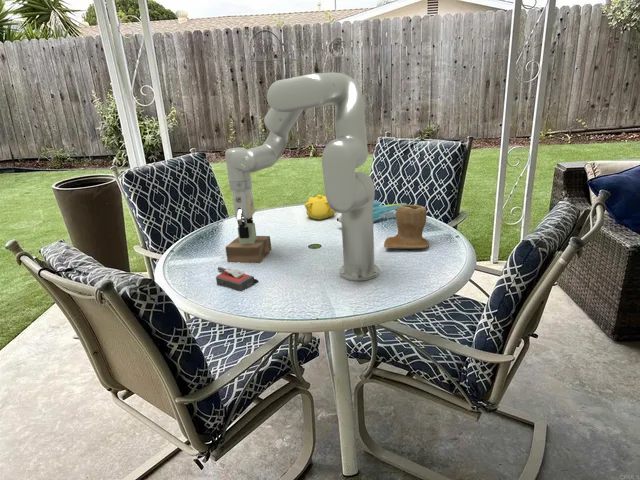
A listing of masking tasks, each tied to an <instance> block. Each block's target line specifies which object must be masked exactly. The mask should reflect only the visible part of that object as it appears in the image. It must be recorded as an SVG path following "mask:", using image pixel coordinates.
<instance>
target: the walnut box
mask: <svg viewBox="0 0 640 480" xmlns="http://www.w3.org/2000/svg"><path fill="white" fill-rule="evenodd" d="M256 237H257V239H256V241H255V243H254V244H240V242H239V235H238V236H237V237H236V238H235V239H233V240H232V241H231V242H229V244H227V245H226V246H225V253H226V254H225V255H226V259H227V263H238V262H240V263H244V264H260V263H262V262H263V261H264V259H265V258H267V256H268V255H269V254H271V252H272V251H271V250H272V244H271V242H272V241H271V236H270V235H256ZM270 251H271V252H270ZM240 263H239V264H240Z"/></svg>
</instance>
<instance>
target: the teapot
mask: <svg viewBox="0 0 640 480" xmlns="http://www.w3.org/2000/svg"><path fill="white" fill-rule="evenodd" d="M307 199H308V200H307V202H305V203H304V207H305V209H306V215H307V217H308V218H311V219H315V220H318V221H323V219H326V218H331V217H333V216H334V215H335V213H336V211H334V210H333V209H332V208H331V207H330V206H329V204H328V202H327V199H326V195H323V194H317V195H316V196H314V197H313V196H309V197H308V198H307Z"/></svg>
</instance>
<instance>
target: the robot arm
mask: <svg viewBox="0 0 640 480" xmlns="http://www.w3.org/2000/svg"><path fill="white" fill-rule="evenodd" d="M361 89H362V88H361V86H360V85H359V84H358V82H357V81H356V80H355V79H354V78H352V77H351V76H350V75H347V74H345V73H340V72H331V71H330V72H329V71H328V72H316V73H308V74H304V75H299V76H294V77H289V78H285V79H277V80H276V81H274V82H273V83H272V84H271V85H270V86H269V88H268V90H267V93H266V100H267V103H268V105H269V107H270V108H269V110H268V111H267V113H266V114H265V116H264V120H263V122H264V125H265V127H266V128H267V129H268V130H269V134H268V135H267V137H266V139H265V141H264V142H263V143H262V145H258V146H256V147H255V146H254V147H251V148H248V149H247V148H245V147H232V148H228V149H226V151H225V152H224V153H225V154H224V155H225V156H224V157H225V163H226V164H225V165H226V170H227V177H228V186H229V191H230V192H232V199H233V200H232V201H233V211H234V216H235V219H236V221H237V229H238V228H239V235H240V238H249V230H248V227H247V223H254V218H253V216H254V214H255V212H256V210H255V207H256V206H255V202H254V201H255V200H254V197H253V196H254V195H253V191H252V189H253V183H252V182H253V181H252V176H251V174H252V173H257V172H259V171H260V172H261V171H262V170H265V169H267V168H268V169H269V168H271V167H272V166H274V165H275V164H276V163H277V162H278V161H279V160H280V158H281V156H282V155H283V153H284V152H285V150H286V148H287V146H288V143H289V142H288V140H289V133H290V131H291V129H292V128H293V126H294V125H295V124H296V122H297V120H298V119H299V117H300V115H301V114H303V113H302V112H303V111H304V110H305V109H311V108H319V107H324V106H330V105H334V106H335V114H334V129H335V139H333V140H331V141H329V142H328V143H327V144H326V146H325V147H324V149H323V151H322V157H321V168H322V177H323V183H324V193H325V196H326V199H327V202H328V204H329V206H330V207H331V208H332V209H333V210H334V211H335V213H339V214H342V216H341V215H340V216H341V222H342V223H341V222H340V223H341V237H342V238H341V240H342V241H341V242H342V256H343V265H342V266H341V267H339V270H338V271H339V273H338V274H339V275H340V277H341V278H343V279H345V280H348V281H354V282H355V281H356V282H358V281H359V282H362V281H368V280H372V279H374V278H376V277H377V276H379V274H380V272H381V271H380V270H381V269H380V267H379V265H377V264H376V263H375V242H374V236H375V235H374V234H375V233H374V222H373V205H374V201H375V196H376V195H375V194H376V193H375V192H376V189H375V184H374V180H373V179H372V177H371V176H370V175H368V174H367V173H365V172H364V171H363V172H362V171H356V169H358V168H360V167H361V166H362V165H364V164H365V163H366V161H367V160H368V155H369V149H368V140H367V139H368V138H367V127H366V126H367V125H366V119H365V118H366V117H365V116H366V115H365V101H364V95H363V91H362V90H361ZM239 235H238V236H239Z"/></svg>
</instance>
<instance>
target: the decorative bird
mask: <svg viewBox="0 0 640 480" xmlns="http://www.w3.org/2000/svg"><path fill="white" fill-rule="evenodd" d="M381 204H382V202H381V201H378V200H377V201H376V200H374V205H373V223H375V222H376V221H379V220H381V219H383V217H384V216H381V215H382V214H385V213H386V212H390V211H394V210H397V208H398V206H399V205H408V204H407V203H406V202H403V203H402V202H400V203H393V204H385V205H384V204H383V205H381ZM340 214H341V215H339V217H337V218H336V221H337V222H339V223H341V224H342V222H341V216H342V213H340Z"/></svg>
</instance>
